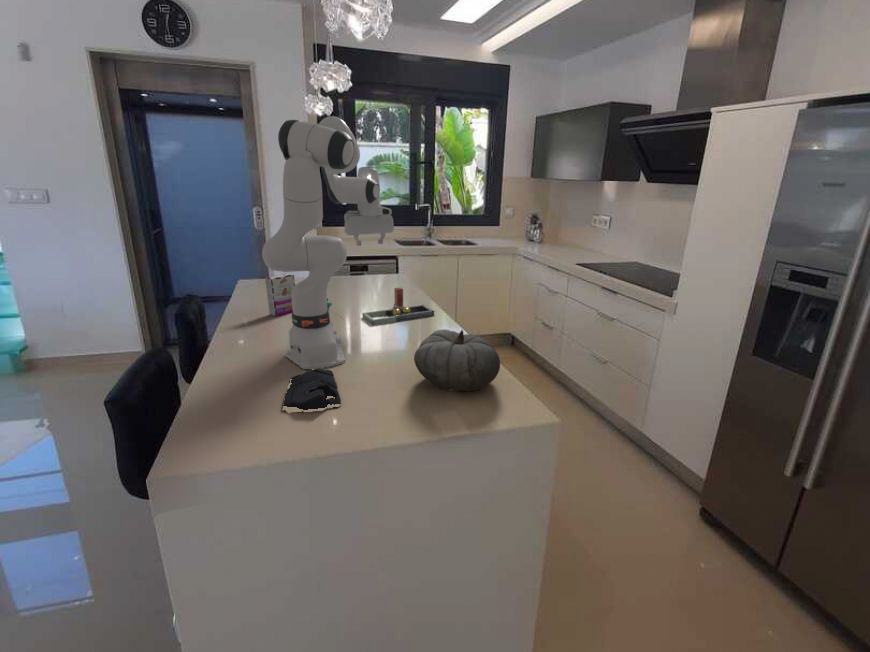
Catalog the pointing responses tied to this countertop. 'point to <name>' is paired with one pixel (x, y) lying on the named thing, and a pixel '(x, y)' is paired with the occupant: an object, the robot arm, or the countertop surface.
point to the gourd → (457, 361)
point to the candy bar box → (280, 293)
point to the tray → (372, 321)
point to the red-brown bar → (398, 298)
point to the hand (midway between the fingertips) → (369, 244)
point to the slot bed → (412, 313)
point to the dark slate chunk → (312, 390)
